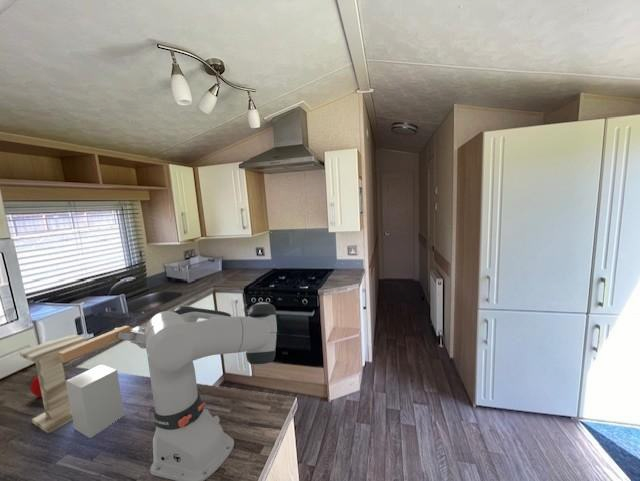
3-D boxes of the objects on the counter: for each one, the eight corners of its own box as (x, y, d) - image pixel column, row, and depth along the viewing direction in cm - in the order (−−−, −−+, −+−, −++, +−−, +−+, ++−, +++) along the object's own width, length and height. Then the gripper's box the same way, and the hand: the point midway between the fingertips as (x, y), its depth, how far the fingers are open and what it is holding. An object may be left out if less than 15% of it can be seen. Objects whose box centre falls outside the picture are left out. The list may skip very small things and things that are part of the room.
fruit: (56, 396, 108) (52, 373, 107) (26, 403, 105) (21, 379, 104) (68, 383, 117) (64, 361, 115) (41, 389, 113) (37, 366, 112)
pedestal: (124, 416, 95) (117, 369, 93) (90, 438, 86) (81, 387, 84) (108, 408, 99) (101, 364, 97) (74, 428, 90) (65, 380, 88)
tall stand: (98, 405, 101) (86, 338, 98) (48, 433, 89) (33, 358, 86) (81, 397, 107) (70, 333, 104) (32, 422, 94) (18, 351, 91)
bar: (131, 333, 103) (129, 326, 103) (64, 362, 85) (62, 353, 85) (126, 332, 105) (125, 325, 104) (59, 361, 87) (57, 352, 86)
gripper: (163, 348, 105) (127, 347, 94) (131, 341, 114) (95, 339, 103) (169, 331, 107) (134, 328, 96) (137, 326, 116) (102, 322, 105)
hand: (114, 334), depth 99 cm, fingers closed on bar, 3 cm apart
